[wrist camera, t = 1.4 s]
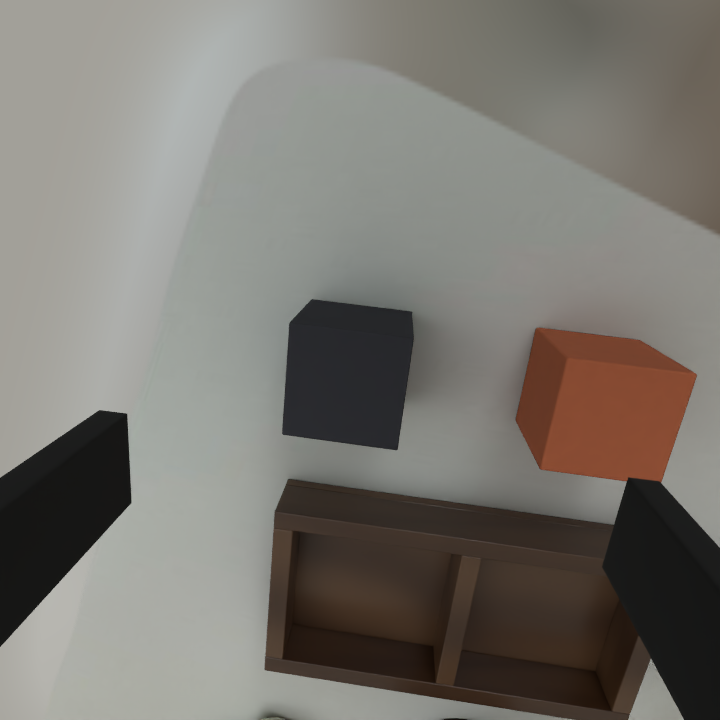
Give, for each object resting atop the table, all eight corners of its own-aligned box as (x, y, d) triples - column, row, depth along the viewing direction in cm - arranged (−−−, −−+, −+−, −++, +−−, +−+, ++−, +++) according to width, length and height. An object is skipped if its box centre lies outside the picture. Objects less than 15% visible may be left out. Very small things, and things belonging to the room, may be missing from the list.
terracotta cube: (535, 326, 24) (567, 357, 20) (640, 339, 24) (698, 374, 19) (514, 420, 26) (539, 470, 21) (613, 433, 26) (660, 486, 21)
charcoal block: (311, 299, 25) (289, 322, 20) (412, 311, 25) (413, 338, 20) (303, 392, 26) (281, 435, 22) (398, 405, 26) (397, 450, 22)
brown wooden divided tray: (288, 478, 28) (274, 511, 25) (654, 530, 27) (684, 570, 24) (277, 626, 31) (264, 670, 28) (603, 677, 30) (625, 728, 27)
